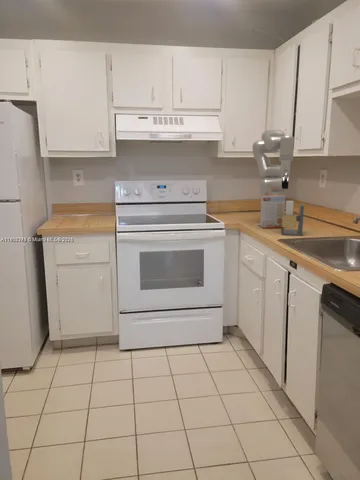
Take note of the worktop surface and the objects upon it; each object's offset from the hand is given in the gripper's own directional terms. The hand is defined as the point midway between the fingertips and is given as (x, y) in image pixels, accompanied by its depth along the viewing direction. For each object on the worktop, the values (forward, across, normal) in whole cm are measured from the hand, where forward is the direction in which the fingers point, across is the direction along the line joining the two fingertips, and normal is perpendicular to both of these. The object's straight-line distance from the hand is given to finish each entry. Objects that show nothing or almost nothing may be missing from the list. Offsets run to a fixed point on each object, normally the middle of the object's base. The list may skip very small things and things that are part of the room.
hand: (284, 188), depth 215 cm
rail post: (+21, +1, +3) cm, 22 cm away
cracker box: (+27, -18, -6) cm, 33 cm away
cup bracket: (+26, +1, +5) cm, 27 cm away
